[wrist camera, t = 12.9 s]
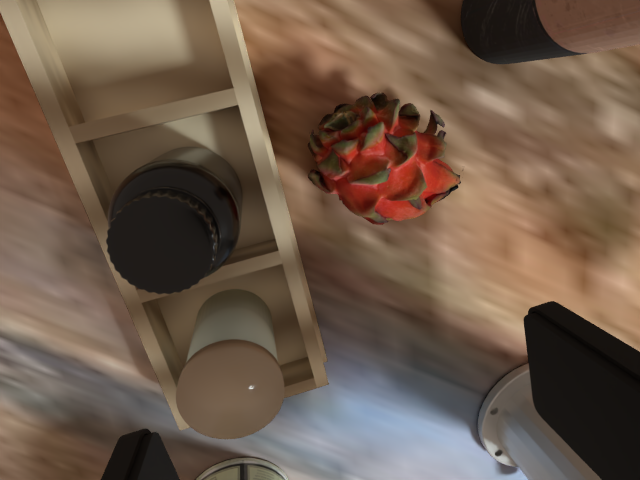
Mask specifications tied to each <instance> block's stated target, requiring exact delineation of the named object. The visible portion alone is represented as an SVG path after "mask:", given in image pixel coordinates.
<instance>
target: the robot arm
mask: <svg viewBox="0 0 640 480" xmlns="http://www.w3.org/2000/svg"><path fill="white" fill-rule="evenodd" d="M524 328H525V336H526V345H527V354H528V364H525V365H523V366H521V367H519V368H516V369H515V370H513V371H512V372H510V373H509V374H507V375H506V376H505V377H504V378H502V379H501V380H500V381H499V382H498V383H497V384H496V385H495V386H494V387H493V389H492V390H491V391H490V392H489V394H488V396H487V397H486V399H485V400H484V402H483V405H482V407H481V410H480V413H479V418H478V434H479V438H480V440H481V442H482V444H483V446H484V447H485V449H486V450H487V451H488V453H489V454H490V455H491V456H492V457H493V458H494V459H495V460H497V461H498V462H500V463H502V464H505V465H508V466H513V467H519V468H520V470H521V471H522V472H523V474H524V475H525V476H526V477H527V479H528V480H640V352H639V351H638V350H636V349H634V348H632V347H631V346H629V345H627V344H626V343H624V342H622V341H621V340H619V339H617V338H616V337H614V336H612V335H611V334H609V333H607V332H606V331H604V330H602V329H600V328H599V327H597V326H595V325H594V324H592V323H590V322H589V321H587V320H585V319H584V318H582V317H580V316H579V315H577V314H575V313H574V312H572V311H570V310H568V309H567V308H565V307H563V306H562V305H560V304H558V303H556V302H554V301H551V302H547V303H544V304H541V305H538V306H535V307H531V308H530V309H529V311H528V315H526V316H525V317H524ZM101 480H180V479H179V477H178V475H177V472H176V470H175V468H174V466H173V464H172V462H171V459H170V457H169V455H168V453H167V451H166V449H165V446H164V444H163V442H162V440H161V438H160V436H159V434H158V433H157V432H154V433H151V432H150V431H149V430H148V429H142V430H139V431H136V432H133V433H129V434H126V435H123V436H121V437H120V438H119V440H118V442H117V444H116V446H115V449H114V451H113V453H112V456H111V458H110V460H109V462H108V465H107V467H106V469H105V472H104V474H103V476H102V479H101Z"/></svg>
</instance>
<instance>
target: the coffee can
mask: <svg viewBox="0 0 640 480" xmlns="http://www.w3.org/2000/svg"><path fill="white" fill-rule="evenodd" d="M196 480H289V479H288V477H287V476H286V474H285V473H284V472H283V471H282V470H281V469H280V468H279V467H277V466H276V465H274V464H272V463H270V462H268V461H264V460H261V459H256V458H235V459H230V460H227V461H224V462H221V463H218V464H216V465H214V466H212V467H210V468H209V469H207V470H206V471H204V472H203V473H202V474H201V475H200V476H199V477H198V478H197V479H196Z"/></svg>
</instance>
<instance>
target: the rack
mask: <svg viewBox="0 0 640 480" xmlns="http://www.w3.org/2000/svg"><path fill="white" fill-rule="evenodd" d="M0 13H1V15H2V17H3V20H4V22H5V24H6V27H7V29H8V31H9V34H10V36H11V38H12V41H13V43H14V45H15V48H16V50H17V52H18V55H19V57H20V59H21V62H22V64H23V66H24V69H25V71H26V73H27V76H28V78H29V80H30V83H31V85H32V87H33V90H34V92H35V94H36V97H37V99H38V101H39V103H40V106H41V108H42V110H43V113H44V115H45V117H46V120H47V122H48V124H49V127H50V129H51V131H52V134H53V136H54V138H55V141H56V143H57V145H58V148H59V150H60V152H61V155H62V157H63V159H64V162H65V164H66V166H67V169H68V171H69V173H70V176H71V178H72V180H73V183H74V185H75V187H76V190H77V192H78V194H79V197H80V199H81V201H82V204H83V206H84V208H85V211H86V213H87V215H88V218H89V220H90V222H91V225H92V227H93V229H94V232H95V234H96V236H97V239H98V241H99V243H100V246H101V248H102V250H103V253H104V255H105V257H106V260H107V262H108V264H109V267H110V269H111V271H112V274H113V276H114V278H115V281H116V283H117V285H118V288H119V290H120V292H121V295H122V297H123V299H124V302H125V304H126V306H127V309H128V311H129V313H130V316H131V318H132V320H133V323H134V325H135V327H136V330H137V332H138V334H139V337H140V339H141V341H142V344H143V346H144V348H145V351H146V353H147V355H148V358H149V360H150V362H151V365H152V367H153V369H154V372H155V374H156V376H157V379H158V381H159V383H160V386H161V388H162V390H163V393H164V395H165V397H166V400H167V402H168V404H169V407H170V409H171V411H172V414H173V416H174V418H175V421H176V423H177V425H178V428H179V430H184V429H187V428H190V426H189V425H188V424H187V423H186V422H185V421H184V420H183V418H182V417H181V415H180V413H179V411H178V408H177V404H176V390H177V385H178V381H179V377H180V374H181V371H182V369H183V367H184V365H185V364H186V361H187V357H188V353H189V348H190V344H191V340H192V335H193V331H194V326H195V322H196V318H197V314H198V312H199V310H200V308H201V306H202V305H203V303H204V302H205V301H206V300H207V299H209V298H210V297H211V296H213V295H214V294H216V293H218V292H221V291H224V290H230V289H241V290H246V291H249V292H252V293H254V294H256V295H257V296H259V297H260V298H261V299H262V300H263V301H264V302H265V303H266V305H267V306H268V308H269V310H270V313H271V317H272V324H273V331H274V338H275V346H276V353H277V360H278V363H279V364H280V367H281V370H282V374H283V380H284V388H285V393H284V398H287V397H290V396H293V395H296V394H299V393H303V392H306V391H309V390H312V389H315V388H319V387H322V386H325V385H328V384H329V383H328V379H327V375H326V372H325V368H324V364H323V363H324V362H327V357H326V353H325V349H324V345H323V341H322V338H321V334H320V330H319V326H318V322H317V318H316V314H315V311H314V307H313V303H312V299H311V295H310V291H309V288H308V284H307V280H306V276H305V272H304V268H303V264H302V261H301V257H300V253H299V249H298V245H297V241H296V238H295V234H294V230H293V226H292V222H291V218H290V214H289V211H288V207H287V203H286V199H285V195H284V191H283V188H282V184H281V180H280V176H279V172H278V168H277V164H276V161H275V157H274V153H273V149H272V145H271V141H270V138H269V134H268V130H267V126H266V122H265V118H264V114H263V111H262V107H261V103H260V99H259V95H258V91H257V88H256V84H255V80H254V76H253V72H252V68H251V64H250V61H249V57H248V53H247V49H246V45H245V41H244V38H243V34H242V30H241V26H240V22H239V18H238V14H237V11H236V7H235V3H234V0H0ZM181 147H200V148H204V149H208V150H210V151H212V152H214V153H216V154H218V155H220V156H221V157H222V158H224V159H225V160H226V161H227V162H228V163H229V164H230V165H231V166H232V168H233V169H234V170H235V172H236V174H237V176H238V178H239V180H240V183H241V187H242V196H243V202H242V216H241V229H240V235H239V239H238V242H237V245H236V248H235V250H234V252H233V253H232V255H231V257H230V258H229V259H228V261H227V262H226V263H225V264H224V265H223V266H222V267H221V268H220V269H218V270H217V271H216V272H214V273H213V274H211V275H209V276H207V277H205V278H203V279H201V280H200V281H199V283H198V284H196V285H193V286H192V287H191V288H190V289H186V290H183V291H181V292H180V293H177V292H174V293H172V294H166V293H163V294H157V293H155V292H152V293H149V292H147V291H145V290H141V289H138V288H137V287H136V286H134V285H131V284H129V283H128V281H127V280H126V279H123V278H122V277H121V275H120V273H119V272H117V271H116V270H115V268H114V264H113V263H111V261H110V255H109V254H108V252H107V248H108V245H107V243H106V239H107V237H108V235H107V230H108V229H109V228H108V210H109V205H110V202H111V199H112V196H113V194H114V192H115V190H116V189H117V187H118V186H119V185H120V183H121V182H122V181H123V180H124V179H125V178H126V177H127V176H128V175H129V174H131V173H132V172H133V171H135V170H136V169H138V168H139V167H141V166H143V165H145V164H146V163H148V162H150V161H152V160H153V159H155V158H157V157H159V156H160V155H162V154H164V153H166V152H168V151H170V150H173V149H176V148H181Z"/></svg>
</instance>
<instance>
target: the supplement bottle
mask: <svg viewBox="0 0 640 480" xmlns="http://www.w3.org/2000/svg"><path fill="white" fill-rule="evenodd" d="M242 202H243V196H242V187H241V183H240V180H239V178H238V176H237V174H236V172H235V170H234V169H233V168H232V166H231V165H230V164H229V163H228V162H227V161H226V160H225V159H224V158H222V157H221V156H220V155H218V154H216V153H214V152H212V151H210V150H208V149H204V148H200V147H181V148H176V149H173V150H170V151H168V152H166V153H164V154H162V155H160V156H159V157H157V158H155V159H153V160H152V161H150V162H148V163H146V164H145V165H143V166H141V167H139V168H138V169H136V170H135V171H133V172H132V173H131V174H129V175H128V176H127V177H126V178H125V179H124V180H123V181H122V182H121V183H120V185H119V186H118V187H117V189H116V190H115V192H114V194H113V196H112V199H111V202H110V205H109V210H108V228H109V229H108V230H107V235H108V237H107V239H106V243H107V245H108V248H107V252H108V254H109V255H110V261H111V263H113V264H114V268H115V270H116V271H117V272H119V273H120V275H121V277H122V278H123V279H126V280H127V281H128V283H129V284H131V285H134V286H136V287H137V288H138V289H141V290H145V291H147V292H149V293H152V292H155V293H157V294H163V293H166V294H172V293H174V292H177V293H180V292H181V291H183V290H186V289H190V288H191V287H192V286H193V285H196V284H198V283H199V281H200V280H201V279H203V278H205V277H207V276H209V275H211V274H213V273H214V272H216V271H217V270H218V269H220V268H221V267H222V266H223V265H224V264H225V263H226V262H227V261H228V259H229V258H230V257H231V255H232V253H233V252H234V250H235V248H236V245H237V242H238V239H239V235H240V229H241V216H242Z"/></svg>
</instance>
